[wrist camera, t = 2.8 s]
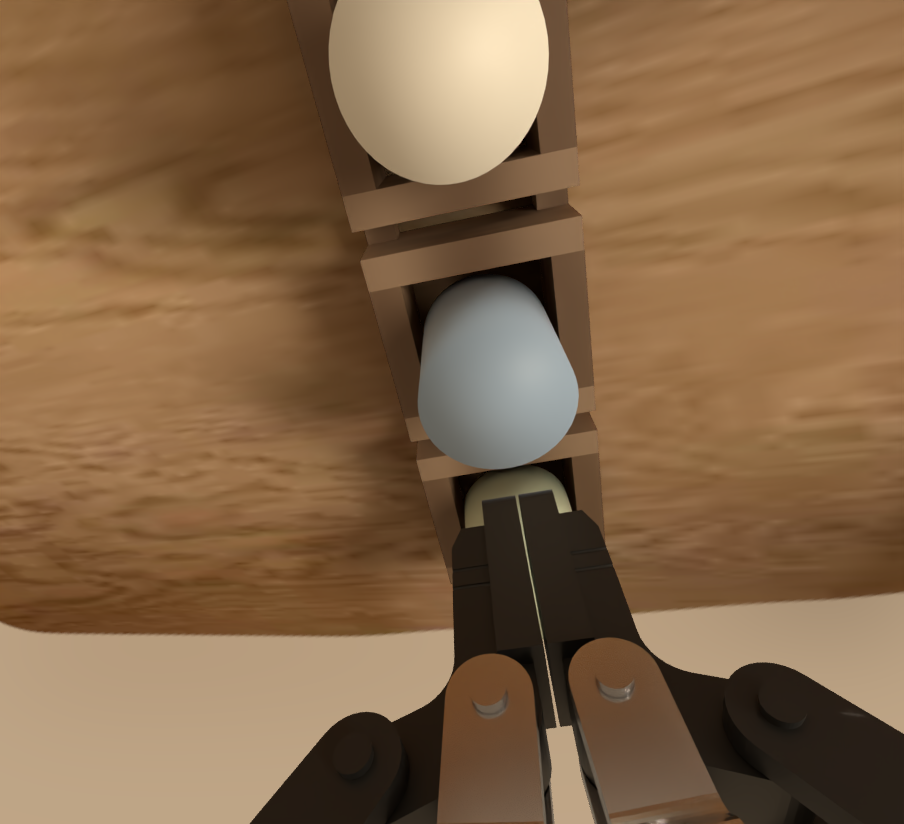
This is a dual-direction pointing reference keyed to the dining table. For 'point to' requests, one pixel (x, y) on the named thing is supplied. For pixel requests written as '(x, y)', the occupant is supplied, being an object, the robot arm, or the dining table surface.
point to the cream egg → (439, 81)
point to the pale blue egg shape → (493, 375)
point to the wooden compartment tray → (470, 254)
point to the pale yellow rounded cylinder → (512, 494)
